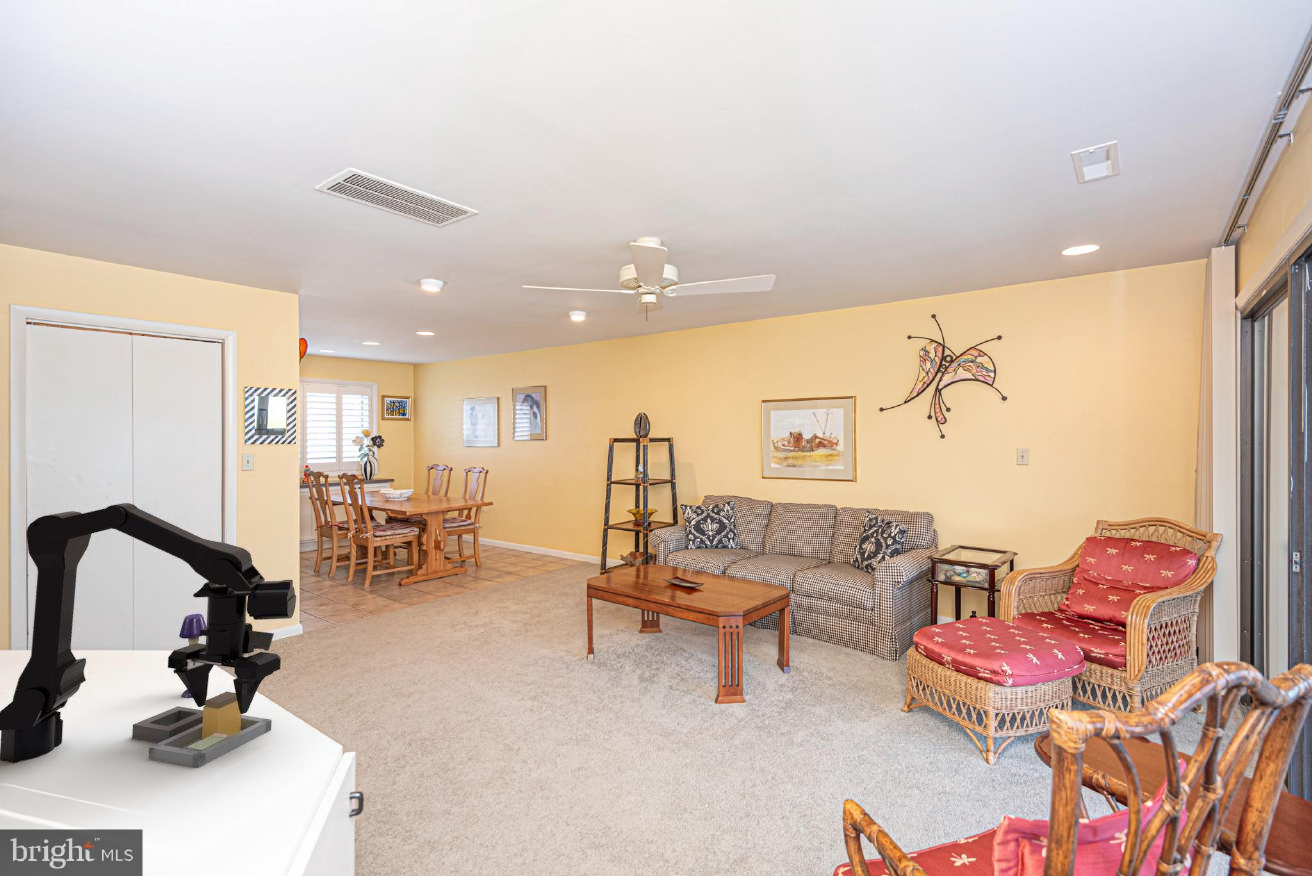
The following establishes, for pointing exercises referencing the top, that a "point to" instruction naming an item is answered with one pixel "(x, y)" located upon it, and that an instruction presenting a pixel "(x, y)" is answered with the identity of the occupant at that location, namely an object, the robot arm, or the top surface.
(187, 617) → the toy lamp
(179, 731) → the fuse holder
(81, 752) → the top surface
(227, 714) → the block
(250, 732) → the parts tray
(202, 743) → the block
